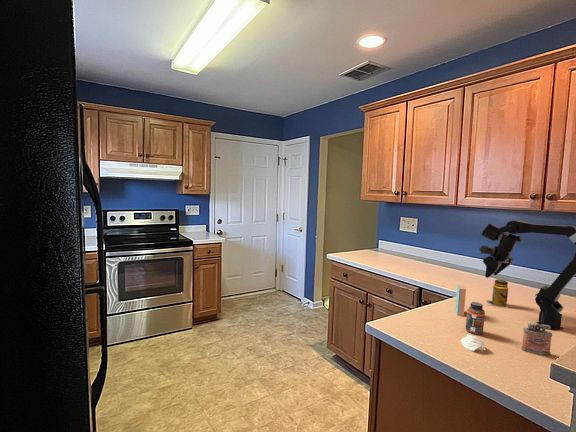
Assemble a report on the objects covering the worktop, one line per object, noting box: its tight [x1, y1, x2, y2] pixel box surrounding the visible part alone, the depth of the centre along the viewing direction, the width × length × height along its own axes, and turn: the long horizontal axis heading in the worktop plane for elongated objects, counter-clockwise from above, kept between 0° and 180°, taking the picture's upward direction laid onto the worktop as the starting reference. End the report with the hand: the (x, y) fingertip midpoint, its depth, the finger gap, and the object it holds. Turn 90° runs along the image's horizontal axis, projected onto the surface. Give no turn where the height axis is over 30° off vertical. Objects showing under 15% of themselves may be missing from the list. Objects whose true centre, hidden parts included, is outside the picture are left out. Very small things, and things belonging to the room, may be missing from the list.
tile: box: [454, 283, 467, 317], centre depth 141 cm, size 2×7×12 cm, turn 159°
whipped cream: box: [460, 333, 486, 352], centre depth 111 cm, size 8×7×5 cm
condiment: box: [486, 279, 509, 309], centre depth 154 cm, size 7×8×12 cm
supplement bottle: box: [465, 301, 486, 335], centre depth 123 cm, size 6×6×11 cm
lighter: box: [520, 322, 553, 357], centre depth 108 cm, size 8×3×10 cm, turn 69°
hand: (490, 276), depth 147 cm, fingers open, 9 cm apart
